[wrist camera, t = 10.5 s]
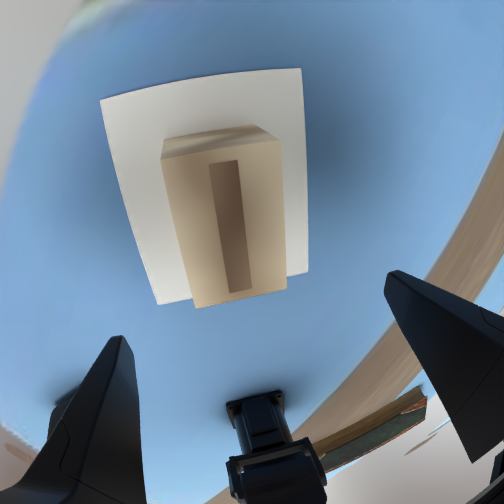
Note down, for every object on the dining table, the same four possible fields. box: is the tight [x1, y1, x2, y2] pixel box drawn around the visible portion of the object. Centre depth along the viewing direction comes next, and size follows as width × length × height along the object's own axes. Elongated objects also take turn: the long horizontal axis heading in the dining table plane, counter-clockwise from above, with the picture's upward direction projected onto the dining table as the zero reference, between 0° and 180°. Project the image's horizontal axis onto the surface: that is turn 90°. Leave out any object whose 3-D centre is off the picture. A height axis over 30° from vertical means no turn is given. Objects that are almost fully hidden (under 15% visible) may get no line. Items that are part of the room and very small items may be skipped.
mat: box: [100, 68, 308, 305], centre depth 18 cm, size 14×11×1 cm
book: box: [312, 386, 427, 473], centre depth 48 cm, size 17×4×25 cm
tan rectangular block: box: [160, 125, 287, 309], centre depth 16 cm, size 5×8×5 cm, turn 5°
